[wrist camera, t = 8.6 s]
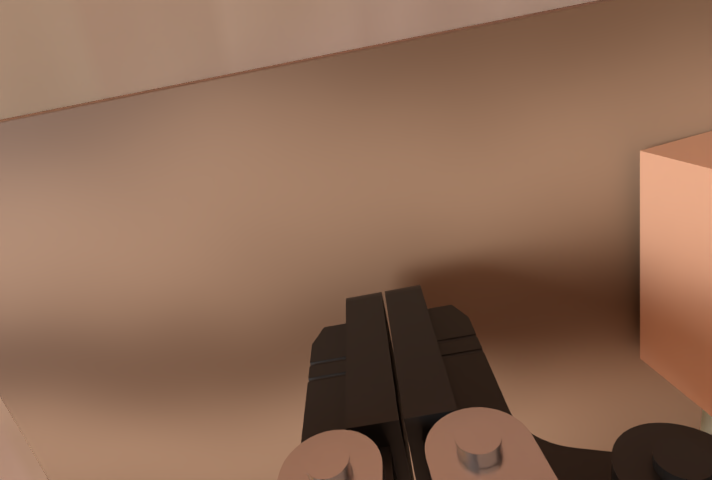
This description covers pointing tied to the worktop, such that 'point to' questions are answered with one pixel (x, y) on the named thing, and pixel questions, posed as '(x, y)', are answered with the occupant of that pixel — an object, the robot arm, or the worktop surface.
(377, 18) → the worktop surface
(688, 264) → the tile
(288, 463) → the robot arm
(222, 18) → the worktop surface
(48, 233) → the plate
